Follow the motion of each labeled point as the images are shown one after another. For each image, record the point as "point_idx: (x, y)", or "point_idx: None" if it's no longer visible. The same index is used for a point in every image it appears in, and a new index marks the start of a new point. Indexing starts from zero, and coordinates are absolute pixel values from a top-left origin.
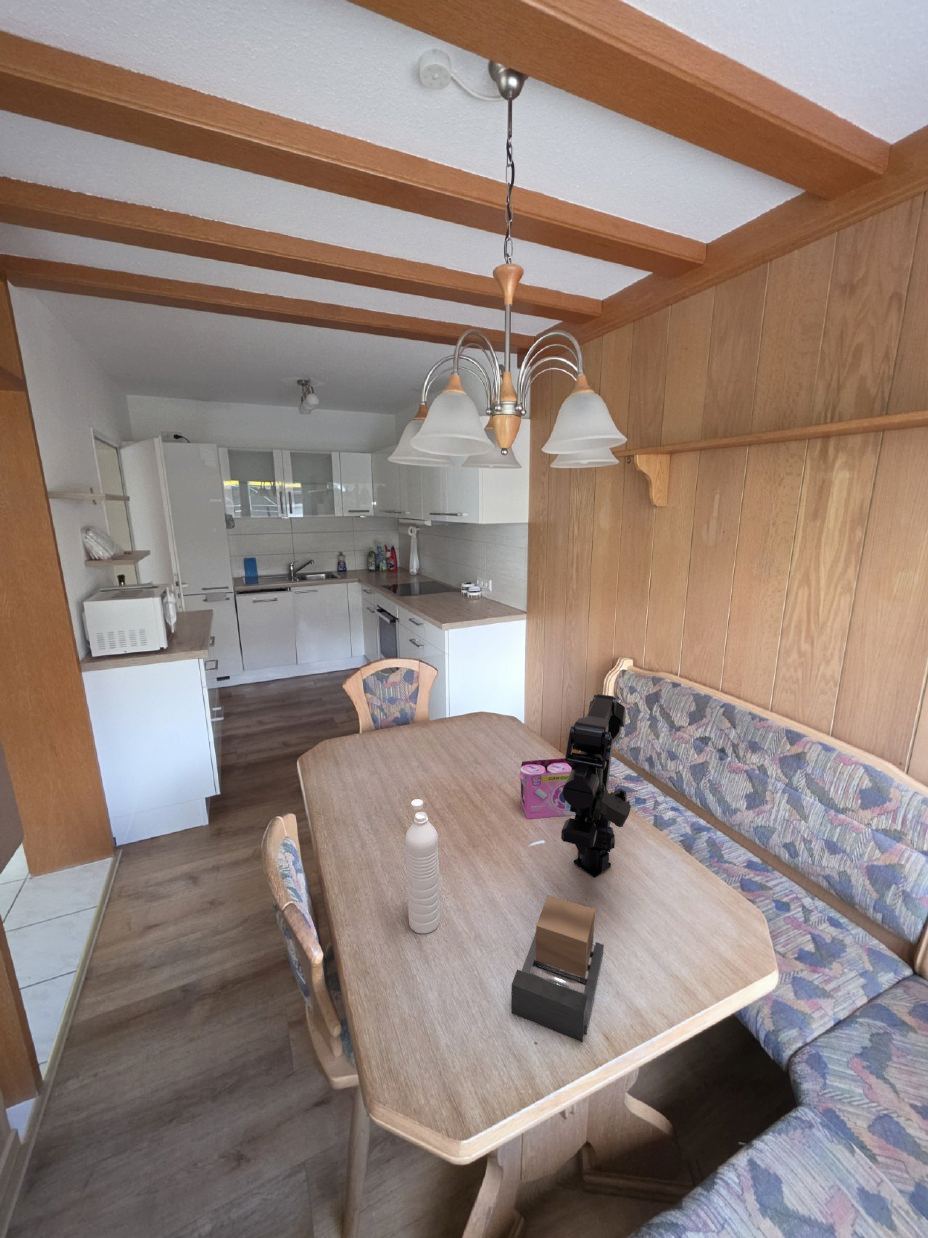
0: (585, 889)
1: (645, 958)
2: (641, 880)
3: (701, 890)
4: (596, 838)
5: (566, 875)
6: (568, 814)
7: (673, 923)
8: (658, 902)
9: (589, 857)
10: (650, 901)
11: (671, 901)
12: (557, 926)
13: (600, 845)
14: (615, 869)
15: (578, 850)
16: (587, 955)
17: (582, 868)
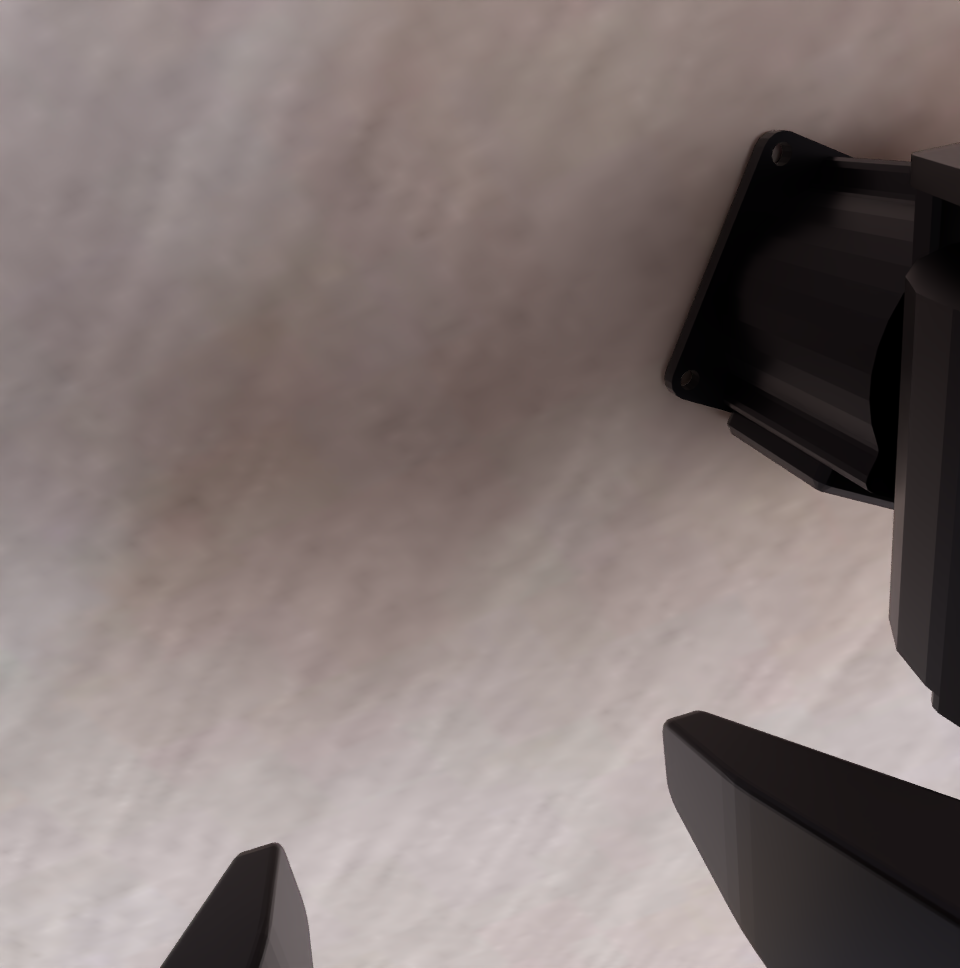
0: (496, 375)
1: (134, 933)
2: (791, 657)
3: None
4: (954, 616)
5: (575, 140)
6: None
7: (516, 917)
8: (641, 803)
9: (801, 351)
10: (625, 769)
11: (686, 846)
12: None
13: (893, 593)
14: None
15: (191, 937)
16: None
17: (718, 255)
